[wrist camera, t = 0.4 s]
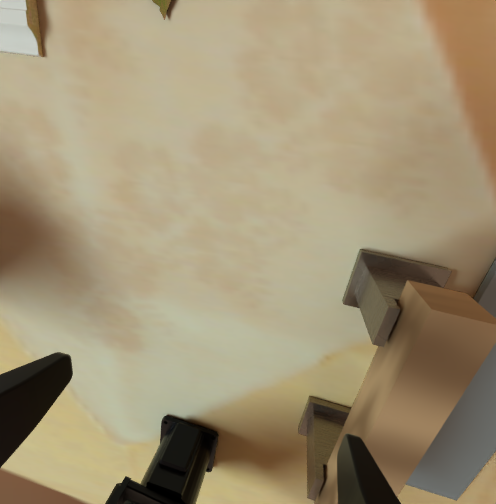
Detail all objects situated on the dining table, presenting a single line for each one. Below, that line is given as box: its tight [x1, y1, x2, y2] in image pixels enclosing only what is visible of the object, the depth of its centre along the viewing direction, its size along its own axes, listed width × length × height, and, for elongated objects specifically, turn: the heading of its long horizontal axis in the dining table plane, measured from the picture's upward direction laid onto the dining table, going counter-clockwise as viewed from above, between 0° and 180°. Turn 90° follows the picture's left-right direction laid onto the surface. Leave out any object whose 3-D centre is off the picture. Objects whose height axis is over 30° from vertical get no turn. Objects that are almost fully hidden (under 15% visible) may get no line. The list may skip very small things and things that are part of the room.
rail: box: [315, 280, 496, 504], centre depth 17 cm, size 20×3×3 cm, turn 170°
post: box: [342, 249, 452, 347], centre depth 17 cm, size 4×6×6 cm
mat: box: [406, 259, 496, 501], centre depth 21 cm, size 24×7×1 cm, turn 170°
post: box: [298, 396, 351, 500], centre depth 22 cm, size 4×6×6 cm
